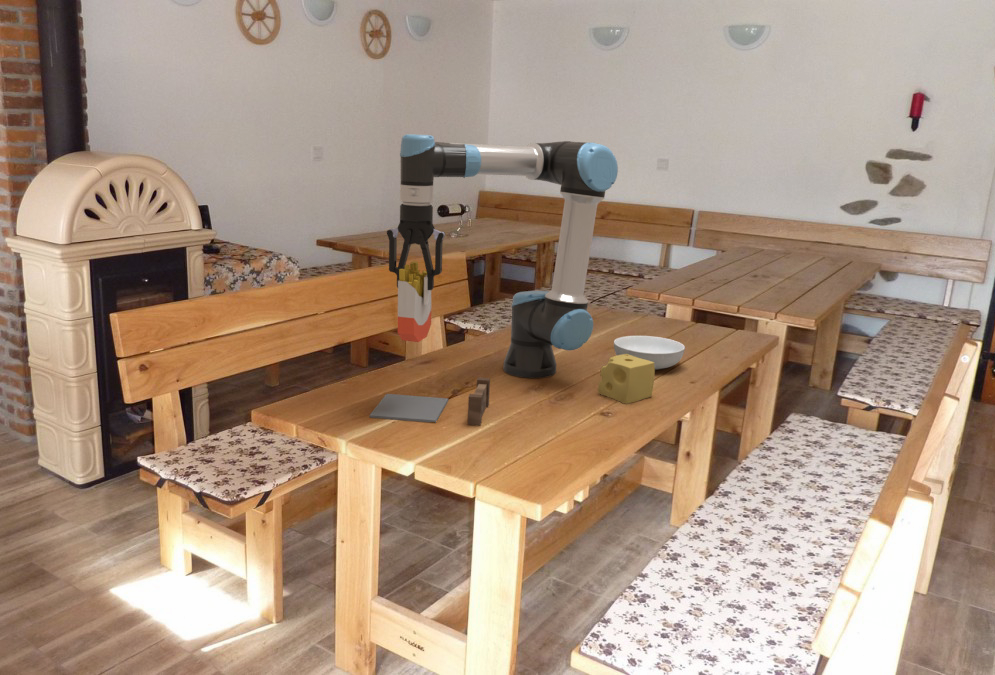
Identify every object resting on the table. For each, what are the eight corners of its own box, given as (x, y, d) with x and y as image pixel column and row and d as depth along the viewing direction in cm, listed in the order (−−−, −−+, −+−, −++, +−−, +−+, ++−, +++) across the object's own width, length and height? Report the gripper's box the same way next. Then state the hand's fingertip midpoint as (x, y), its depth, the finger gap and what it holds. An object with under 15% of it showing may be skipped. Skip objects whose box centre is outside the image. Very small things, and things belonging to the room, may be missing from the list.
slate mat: (386, 395, 212) (386, 393, 212) (448, 400, 210) (448, 398, 210) (369, 417, 197) (369, 415, 197) (435, 422, 195) (435, 420, 195)
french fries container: (432, 334, 203) (433, 261, 198) (415, 345, 193) (416, 268, 188) (415, 332, 204) (416, 260, 200) (397, 343, 194) (397, 267, 190)
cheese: (597, 394, 220) (600, 358, 218) (624, 387, 227) (627, 352, 224) (627, 405, 213) (630, 368, 210) (654, 397, 219) (657, 361, 217)
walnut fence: (477, 403, 209) (478, 377, 207) (488, 404, 209) (490, 378, 207) (467, 424, 195) (468, 396, 193) (480, 425, 194) (481, 397, 193)
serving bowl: (689, 362, 253) (691, 340, 251) (673, 380, 234) (675, 357, 233) (623, 352, 261) (625, 331, 259) (602, 369, 243) (604, 346, 241)
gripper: (374, 203, 188) (374, 303, 194) (452, 207, 186) (449, 308, 192) (382, 200, 195) (382, 297, 201) (457, 204, 193) (454, 301, 199)
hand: (415, 302), depth 196 cm, fingers closed on french fries container, 5 cm apart
